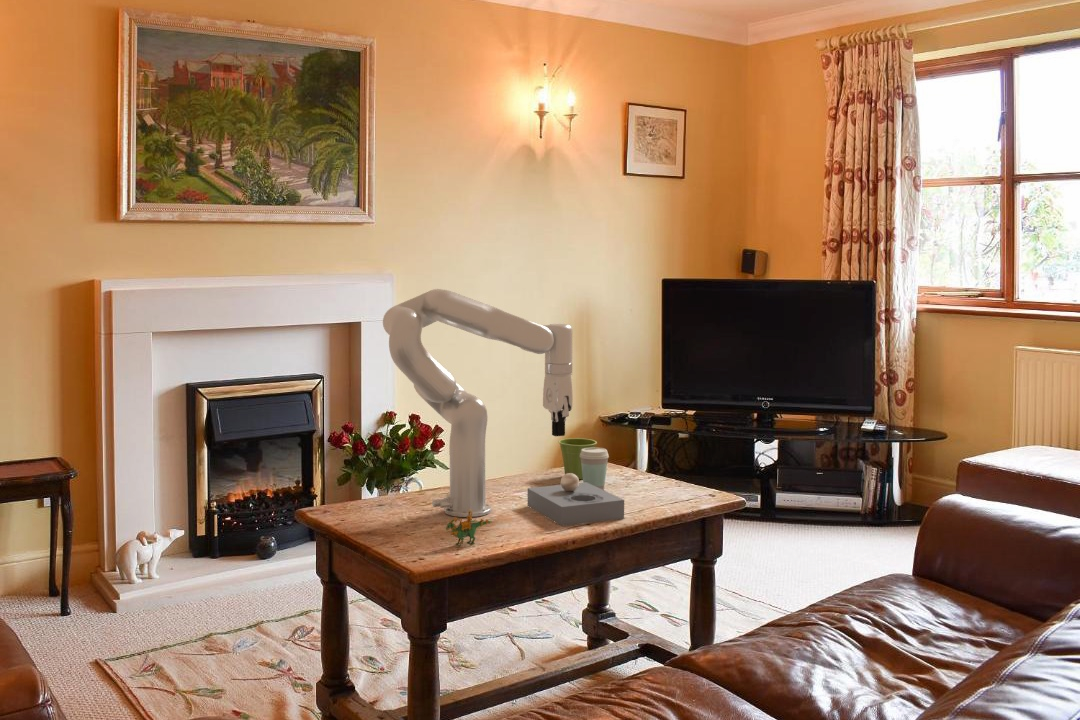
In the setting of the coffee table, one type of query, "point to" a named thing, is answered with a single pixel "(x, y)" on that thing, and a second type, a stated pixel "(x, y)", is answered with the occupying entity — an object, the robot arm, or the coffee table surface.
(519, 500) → the coffee table surface
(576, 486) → the ball
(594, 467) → the coffee cup
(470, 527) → the figurine
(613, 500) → the grey flat block
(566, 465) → the plant pot
